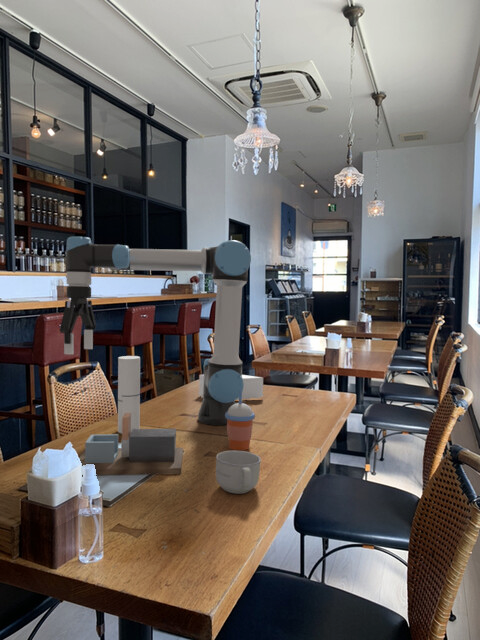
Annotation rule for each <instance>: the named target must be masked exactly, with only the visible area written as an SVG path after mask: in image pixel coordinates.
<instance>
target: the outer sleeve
mask: <svg viewBox="0 0 480 640" xmlns="http://www.w3.org/2000/svg"><path fill="white" fill-rule="evenodd" d="M176 433H177V429H176V428H140V429H133V430H132V432H131V434H130V436H129V463H136V462H174V461H175V454H176V448H177V443H176V441H177V434H176Z"/></svg>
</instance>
